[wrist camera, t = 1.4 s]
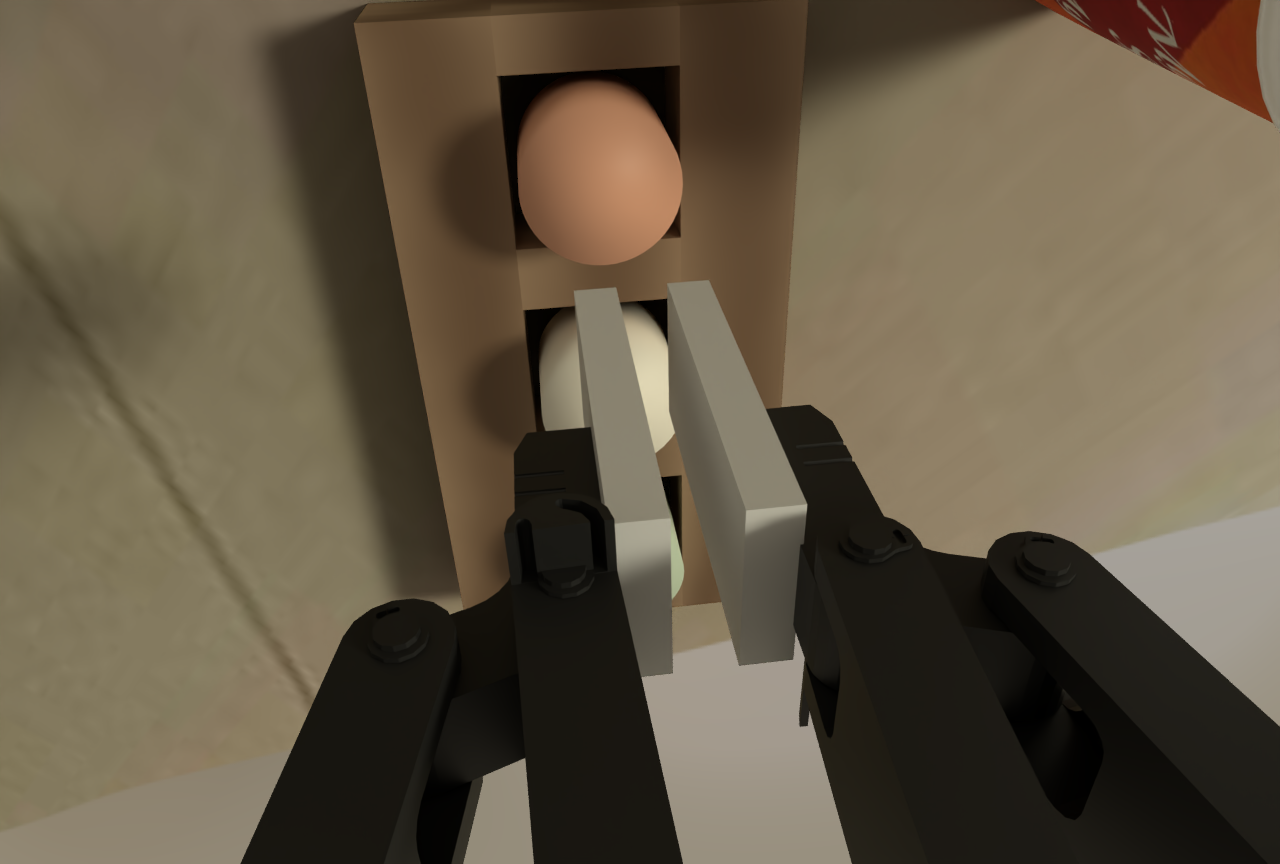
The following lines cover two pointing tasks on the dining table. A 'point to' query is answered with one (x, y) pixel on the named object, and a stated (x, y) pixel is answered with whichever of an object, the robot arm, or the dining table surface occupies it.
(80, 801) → the dining table surface
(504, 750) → the robot arm
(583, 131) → the brown egg
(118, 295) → the dining table surface
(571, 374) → the cream rounded piece
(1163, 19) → the coffee cup
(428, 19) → the walnut panel
